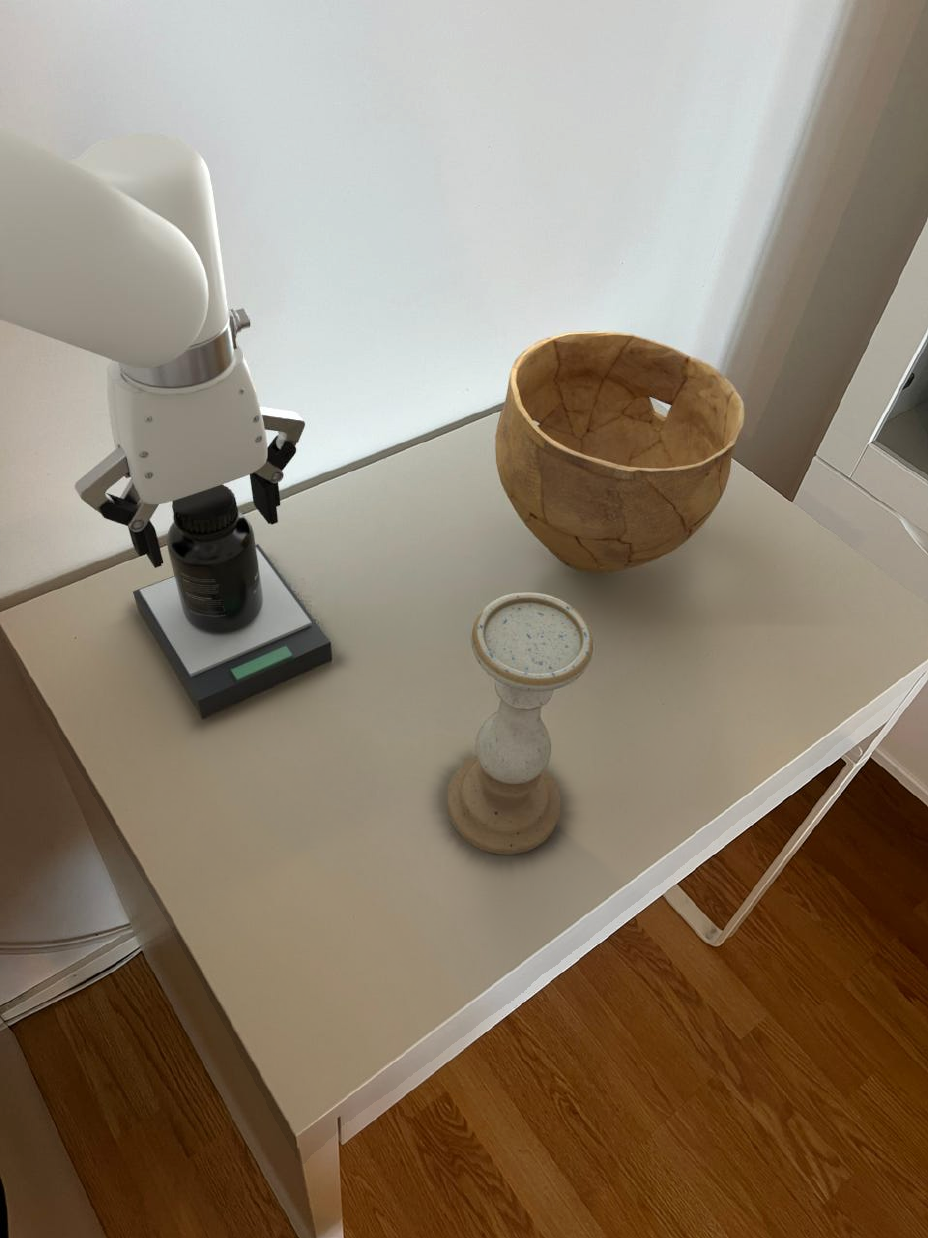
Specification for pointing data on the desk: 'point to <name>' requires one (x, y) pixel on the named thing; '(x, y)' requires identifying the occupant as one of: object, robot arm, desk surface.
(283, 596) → the scale
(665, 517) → the bowl
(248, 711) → the desk surface
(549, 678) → the candle holder
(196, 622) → the supplement bottle
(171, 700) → the desk surface
